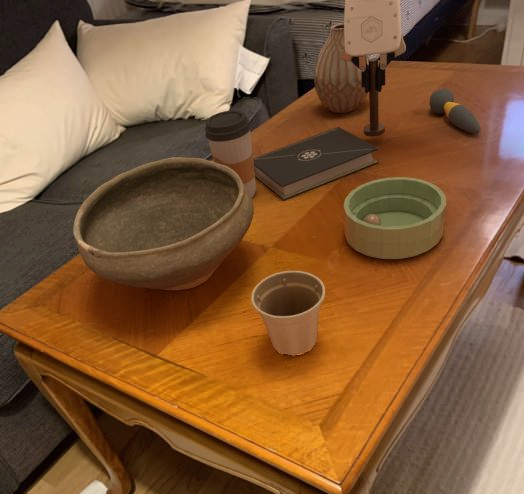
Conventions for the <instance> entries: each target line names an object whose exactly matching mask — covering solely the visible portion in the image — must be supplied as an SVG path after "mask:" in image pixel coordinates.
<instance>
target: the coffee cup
mask: <svg viewBox="0 0 524 494" xmlns="http://www.w3.org/2000/svg"><path fill="white" fill-rule="evenodd" d="M251 129H252V127H251V124H250V120H249V118H248V117H247V115H246V113H245V112H244V111H241V110H238V109H237V110H235V109H234V110H224V111H220V112H217V113H214V114H212V115H210V116H209V117H208V118H207V119H206V120H205V126H204V131H205V138H206V139H207V143H208V145H209V148H210V152H211V154H212V155H211V156H212V161H213V162H216V163H218V164H221V165H225V166H227V167H229V168H231V169H232V170H234V171H235V172H236V173H237V174H238V175H239V177H240V179H241V180H242V182H243V184H244V185H245V186H246V188H247V189H248V191H249V193H250V195H251V197H252V198H254V197H255V194H256V192H257V185H256V176H255V170H254V160H253V158H254V152H253V146H252V145H253V144H252V136H251Z"/></svg>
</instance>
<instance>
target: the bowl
mask: <svg viewBox="0 0 524 494" xmlns="http://www.w3.org/2000/svg"><path fill="white" fill-rule="evenodd" d="M254 207H255V206H254V202H253V197H251V195H250V193H249V191H248V189H247V188H246V186H245V185H244V184H243V182H242V180H241V179H240V177H239V175H238V174H237V173H236V172H235V171H234V170H232V169H231V168H229V167H227V166H225V165H221V164H218V163H216V162H214V160H208V159H205V158H200V157H181V156H179V157H169V158H167V157H166V158H162V159H159V160H156V161H155V160H154V161H151V162H148V163H144V164H141V165H139V166H137V167H134V168H132V169H129V170H128V171H125V172H122V173H120V174H117V175H116V176H114V177H113V178H111V179H110V180H108V181H106V182H105V183H103V184H101V185H99V186H98V187H97V188H95V190H94V191H93V192H91V194H89V196H88V197H86V199H85V200H84V201H83V202H82V204H81V205H80V207H78V210H77V212H76V215H75V218H74V222H73V227H72V231H73V232H72V233H73V236H74V239H75V240H76V241H75V242H76V247H77V249H78V252H79V256H80V257H81V259H82V261H83V262H84V265H86V266H87V268H88V269H89V271H92V272H93V273H94V274H96V275H97V276H99V277H100V278H102V279H103V280H105V281H109V282H112V283H115V284H117V285H122V286H126V287H131V288H141V289H142V288H143V289H154V290H165V291H183V290H188V289H193V288H196V287H198V286H200V285H202V284H203V283H205V282H207V281H208V280H209V279H210V278H211V277H212V276H213V275H214V273H215V271H216V270H217V269H218V268H219V266H220V265H221V264H222V263H223V261H224V260H225V259H226V258H227V257H228V256H229V255H231V253H232V252H233V251H234V250H235V249H236V248H237V246H238V245H239V244H240V243H241V242H242V241H243V239H244V237H245V236H246V235H247V232H248V231H249V229H250V227H251V224H252V222H253V219H254V215H255V213H254V212H255V210H254Z"/></svg>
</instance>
